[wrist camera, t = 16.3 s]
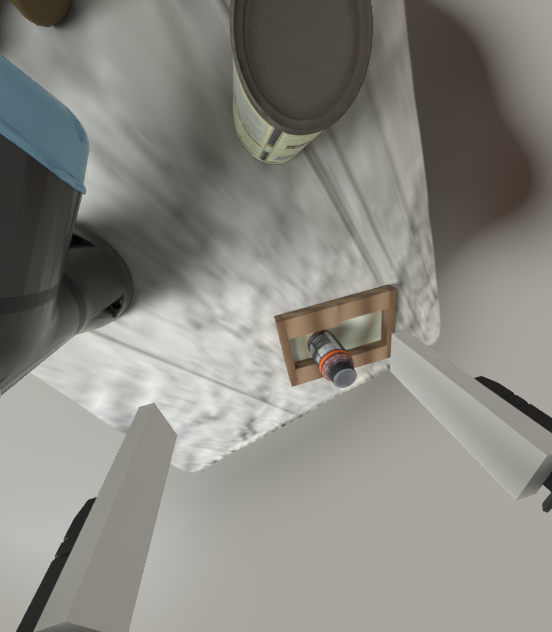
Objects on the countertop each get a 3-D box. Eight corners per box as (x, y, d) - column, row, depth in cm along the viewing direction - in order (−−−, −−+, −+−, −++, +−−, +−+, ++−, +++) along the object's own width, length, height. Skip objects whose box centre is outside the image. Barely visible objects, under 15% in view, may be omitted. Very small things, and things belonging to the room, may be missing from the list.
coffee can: (278, 32, 24) (324, -152, 12) (325, 126, 29) (395, 64, 16) (213, 104, 26) (195, 9, 14) (268, 182, 31) (292, 164, 18)
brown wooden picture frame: (289, 378, 48) (292, 386, 46) (274, 316, 40) (276, 322, 38) (385, 349, 49) (393, 356, 47) (388, 284, 42) (397, 289, 39)
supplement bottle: (336, 347, 46) (364, 385, 36) (309, 356, 46) (331, 398, 36) (331, 324, 43) (360, 359, 33) (303, 334, 43) (324, 372, 33)
